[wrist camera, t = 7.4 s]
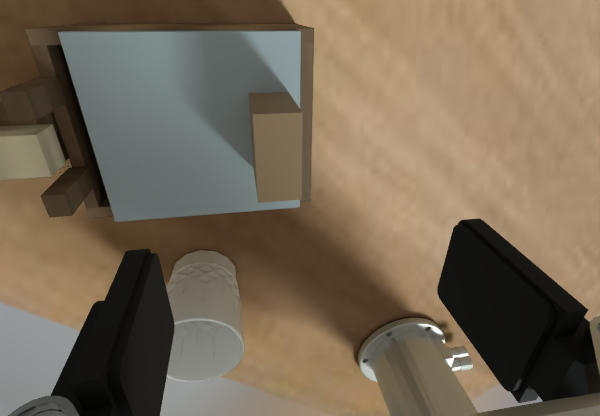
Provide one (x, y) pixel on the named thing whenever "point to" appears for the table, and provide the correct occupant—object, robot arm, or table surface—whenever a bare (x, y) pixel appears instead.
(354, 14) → the table surface
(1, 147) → the beige rectangular bar
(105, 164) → the lid
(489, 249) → the robot arm
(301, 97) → the toolbox
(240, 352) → the white cup
